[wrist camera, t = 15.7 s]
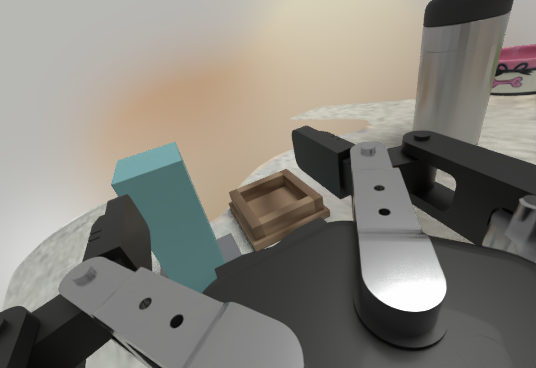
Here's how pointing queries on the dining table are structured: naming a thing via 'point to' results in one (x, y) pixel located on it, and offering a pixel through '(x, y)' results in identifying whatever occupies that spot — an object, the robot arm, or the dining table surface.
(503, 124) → the dining table surface
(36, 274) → the dining table surface
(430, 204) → the robot arm
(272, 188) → the square wooden tray
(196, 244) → the block
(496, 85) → the dog bowl
